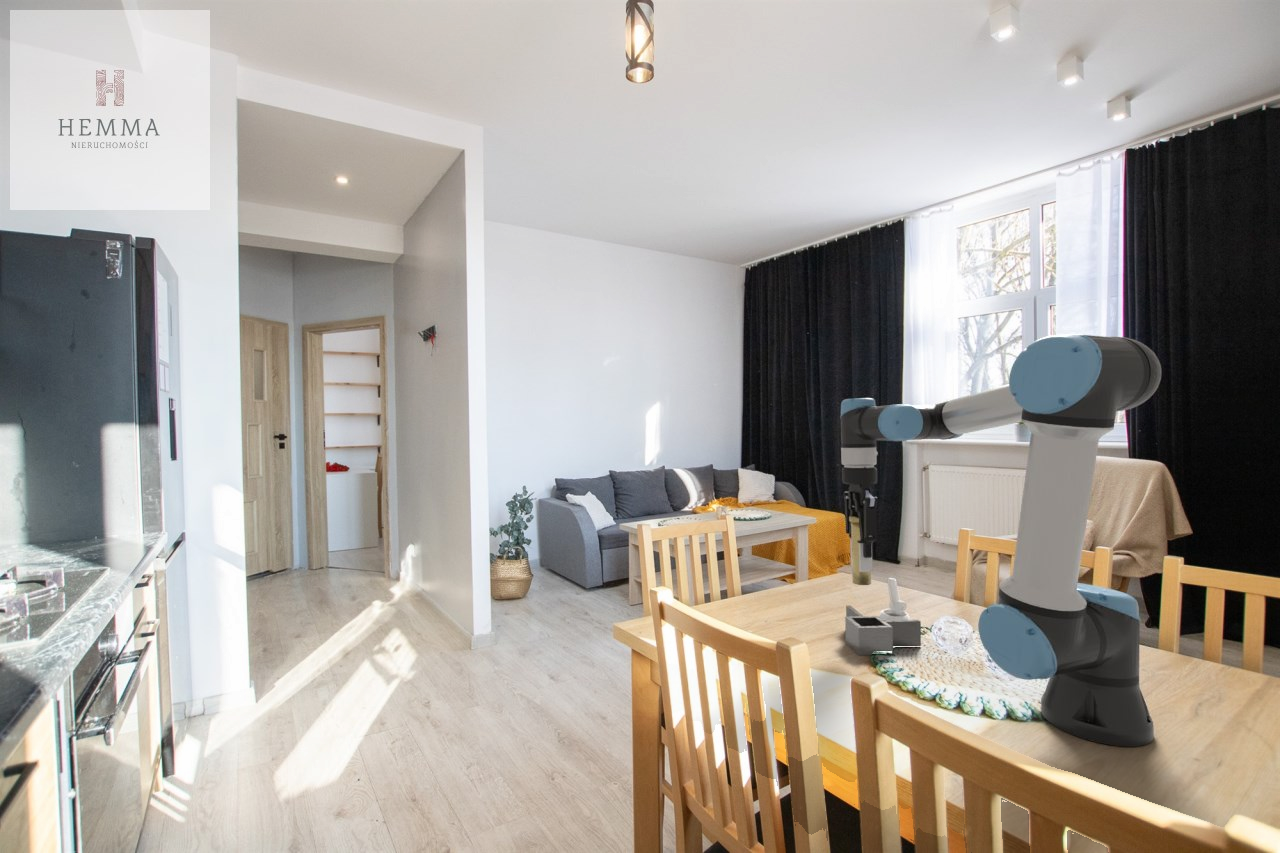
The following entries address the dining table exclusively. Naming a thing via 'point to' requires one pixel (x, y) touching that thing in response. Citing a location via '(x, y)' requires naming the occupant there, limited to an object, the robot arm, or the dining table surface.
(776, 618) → the dining table surface
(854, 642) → the hinge base
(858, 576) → the hinge pin
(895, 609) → the hook
